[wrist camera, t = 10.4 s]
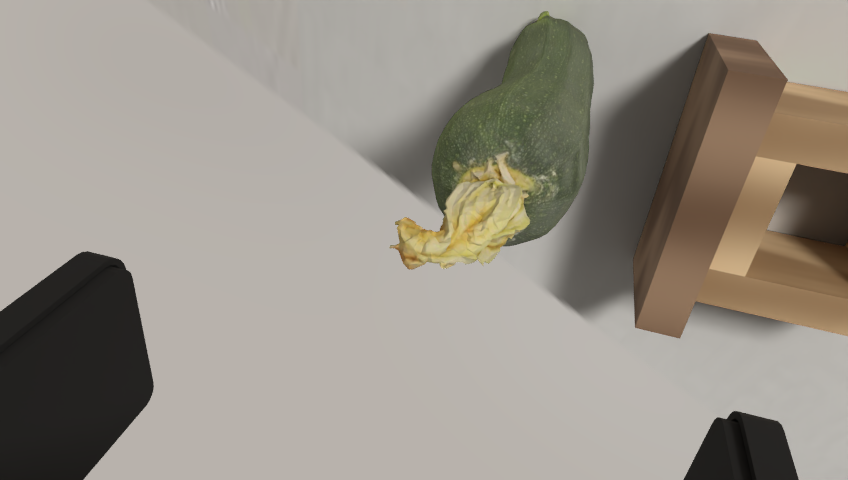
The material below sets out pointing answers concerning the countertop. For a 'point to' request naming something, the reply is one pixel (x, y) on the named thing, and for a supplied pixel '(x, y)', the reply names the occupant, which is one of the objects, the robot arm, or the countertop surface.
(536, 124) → the vegetable
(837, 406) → the countertop surface
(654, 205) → the wall
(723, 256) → the socket block
